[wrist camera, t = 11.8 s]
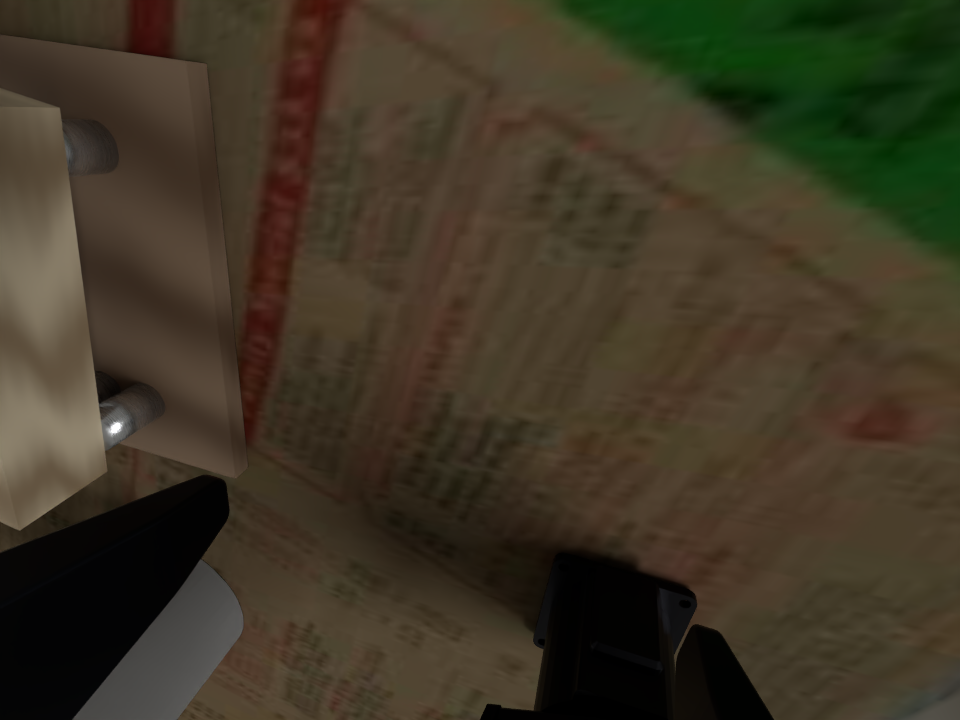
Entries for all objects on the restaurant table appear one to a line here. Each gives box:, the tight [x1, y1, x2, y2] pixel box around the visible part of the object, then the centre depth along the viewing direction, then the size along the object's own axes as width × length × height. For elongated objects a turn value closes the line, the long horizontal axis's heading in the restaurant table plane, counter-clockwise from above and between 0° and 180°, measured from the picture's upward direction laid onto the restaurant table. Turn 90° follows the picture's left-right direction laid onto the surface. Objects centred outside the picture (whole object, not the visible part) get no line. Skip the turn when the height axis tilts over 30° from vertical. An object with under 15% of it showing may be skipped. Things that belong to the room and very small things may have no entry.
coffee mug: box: [72, 559, 243, 720], centre depth 30 cm, size 13×10×10 cm
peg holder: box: [0, 34, 248, 479], centre depth 23 cm, size 19×12×4 cm, turn 173°
